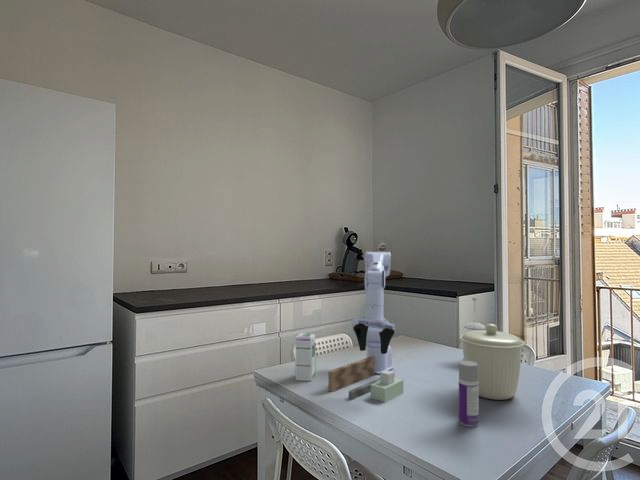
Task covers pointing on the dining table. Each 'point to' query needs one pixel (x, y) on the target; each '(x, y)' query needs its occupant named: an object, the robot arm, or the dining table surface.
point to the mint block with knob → (386, 387)
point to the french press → (474, 323)
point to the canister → (494, 360)
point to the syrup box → (305, 357)
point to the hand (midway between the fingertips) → (373, 352)
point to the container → (468, 394)
